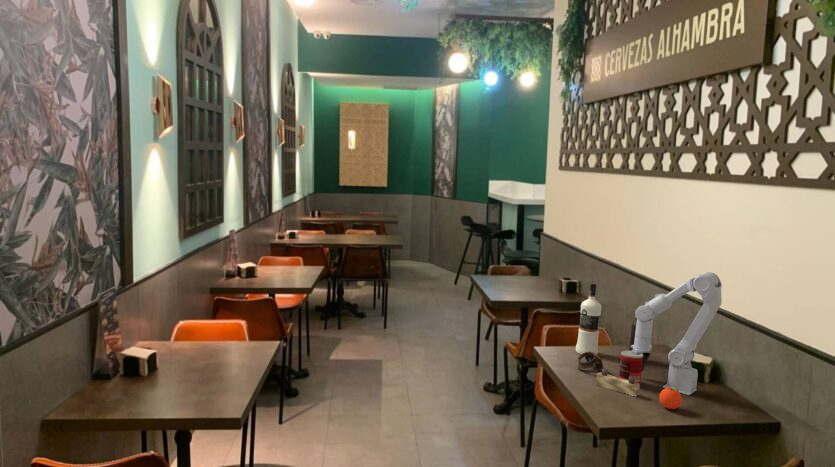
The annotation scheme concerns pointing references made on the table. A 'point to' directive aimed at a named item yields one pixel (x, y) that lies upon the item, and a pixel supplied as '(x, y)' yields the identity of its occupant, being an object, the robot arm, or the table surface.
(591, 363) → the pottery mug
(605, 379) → the maple stop bar
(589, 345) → the vodka
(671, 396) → the clementine
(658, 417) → the table surface
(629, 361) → the canned food
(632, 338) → the bottle
